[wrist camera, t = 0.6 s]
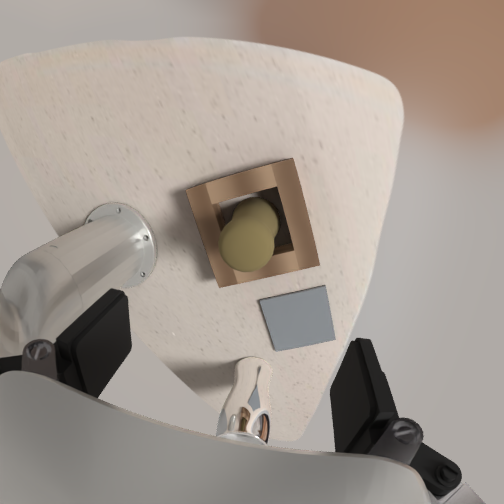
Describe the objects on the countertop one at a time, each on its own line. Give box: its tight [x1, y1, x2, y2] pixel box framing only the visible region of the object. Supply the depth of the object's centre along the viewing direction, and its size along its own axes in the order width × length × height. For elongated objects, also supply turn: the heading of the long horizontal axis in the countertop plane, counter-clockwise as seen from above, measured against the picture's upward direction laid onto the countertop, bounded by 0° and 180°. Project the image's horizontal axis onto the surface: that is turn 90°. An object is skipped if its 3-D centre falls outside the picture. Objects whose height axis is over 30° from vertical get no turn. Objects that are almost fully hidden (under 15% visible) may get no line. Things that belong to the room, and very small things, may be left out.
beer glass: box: [216, 357, 273, 446], centre depth 37 cm, size 7×7×15 cm
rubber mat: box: [260, 285, 336, 352], centre depth 40 cm, size 9×9×1 cm
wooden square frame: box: [186, 158, 320, 288], centre depth 34 cm, size 13×13×3 cm
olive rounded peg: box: [218, 197, 281, 272], centre depth 31 cm, size 6×6×11 cm
